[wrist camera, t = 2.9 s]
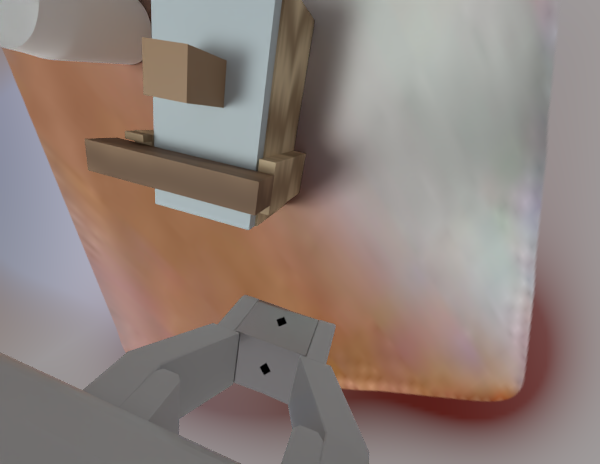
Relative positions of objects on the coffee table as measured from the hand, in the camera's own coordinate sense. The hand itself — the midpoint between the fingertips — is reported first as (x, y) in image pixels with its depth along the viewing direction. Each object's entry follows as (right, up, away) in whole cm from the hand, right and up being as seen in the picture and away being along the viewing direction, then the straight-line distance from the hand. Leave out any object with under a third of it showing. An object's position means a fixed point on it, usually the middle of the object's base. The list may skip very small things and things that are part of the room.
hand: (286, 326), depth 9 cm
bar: (-9, +8, +15) cm, 20 cm away
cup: (-19, +25, +23) cm, 39 cm away
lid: (-7, +13, +14) cm, 21 cm away
